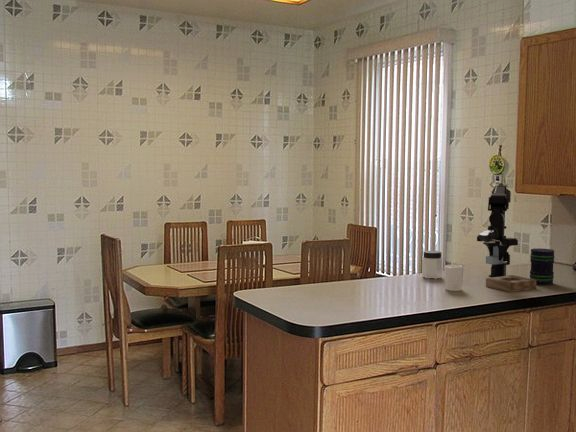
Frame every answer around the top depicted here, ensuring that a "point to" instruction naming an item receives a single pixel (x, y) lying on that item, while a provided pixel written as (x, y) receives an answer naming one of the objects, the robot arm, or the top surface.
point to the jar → (432, 264)
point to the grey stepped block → (494, 257)
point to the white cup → (453, 277)
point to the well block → (511, 283)
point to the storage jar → (542, 266)
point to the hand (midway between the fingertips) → (496, 259)
